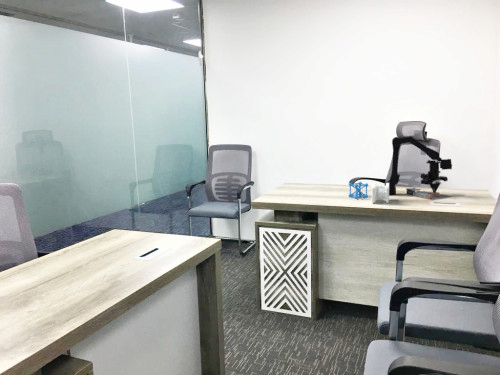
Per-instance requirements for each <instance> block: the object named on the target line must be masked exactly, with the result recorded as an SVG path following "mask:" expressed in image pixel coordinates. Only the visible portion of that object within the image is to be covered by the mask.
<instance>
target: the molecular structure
mask: <svg viewBox="0 0 500 375" xmlns="http://www.w3.org/2000/svg"><path fill="white" fill-rule="evenodd" d="M348 186H349V194H348V198H351V197H353V198H354V199H355V200H358V199H359V198H366V199H367V198H369V194H368V187H369V183H362V182H361V181H359V182H358V183H357V182H356V183H355V182H354V183H352V182H348ZM352 188H354V189H355V191H354V192H352ZM364 188H365V193H363V192H362V191H361V190H362V189H364Z"/></svg>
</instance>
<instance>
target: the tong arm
mask: <svg viewBox="0 0 500 375" xmlns="http://www.w3.org/2000/svg"><path fill="white" fill-rule="evenodd" d="M415 192H419V193H424V194H430V195H432V196H437V197H439V194H440V192H437V191H436V192H433V191H428V190H427V191H426V190H418V191H415Z"/></svg>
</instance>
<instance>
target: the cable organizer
mask: <svg viewBox="0 0 500 375" xmlns="http://www.w3.org/2000/svg"><path fill="white" fill-rule="evenodd" d="M370 188H371V203H372V204H375V203H376V201H385V203H386V204H389V203H390V196H389V183H385V185H377V183H376V182H372V184H371V187H370Z"/></svg>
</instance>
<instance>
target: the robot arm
mask: <svg viewBox="0 0 500 375" xmlns="http://www.w3.org/2000/svg"><path fill="white" fill-rule="evenodd" d="M408 143H410V144H412V145H413V146H414V147H416V148H418V149H419V150H420V151H422V152H424V153H425V155H427V157H429V158H430V159H428V160H427V161H426V164H429V171H427V173H426V174H425V173H424V172H423V173H420V178H421V180H420V184H421V185H428V186H430V188H431V190H432V192H437V190H438V189H439V187H440V185H441V184H442V182H440V181H443V182H448V177H447V176H443V175H440V174H441V171H440V169H441V170H443V171H444V170H452V169H453V164H452V159H451V158H447V159H445V158H444V159H443V158H442V157H441V156H440V153H439V152H438V151H437V150H435V149H433V148H430V147H428V146H426V145H425V144H423V143H422V142H420V141H418V140H417V139H416V138H414V137H413V136H412V135H407V136H403V137H399V136H395V137H393V138H392V140H391V144H392V160H391V161H392V163H391V164H392V165H391V173H390V175H389V180H388V181H387V182H386V183H389V197H392V196H397V187H396V186H397V185H398V184H399V182H400V178H401V174H400V173H398V170H399V169H398V168H399V152H400V149H401V146H402V144H408ZM386 183H385V184H386Z"/></svg>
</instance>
